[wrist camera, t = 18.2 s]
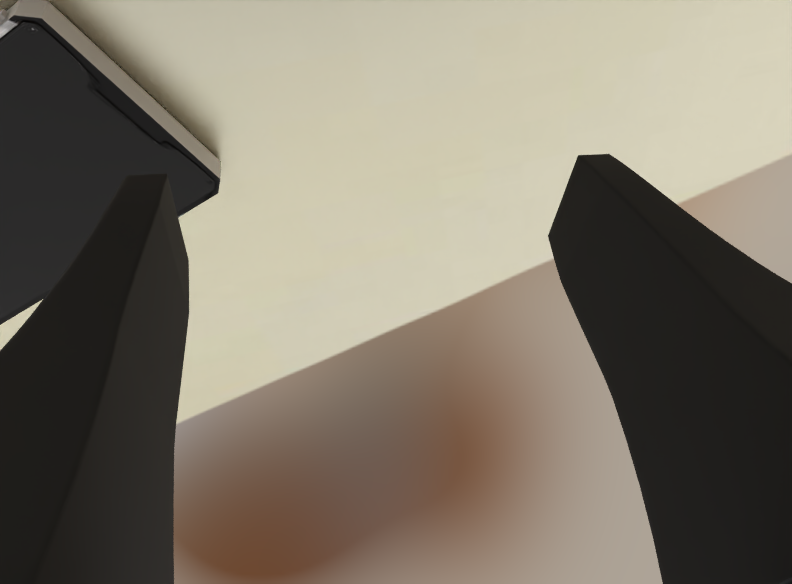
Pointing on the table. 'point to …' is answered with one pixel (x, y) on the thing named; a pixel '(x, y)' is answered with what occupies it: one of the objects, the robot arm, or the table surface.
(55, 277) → the smartphone
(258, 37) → the table surface
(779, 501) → the robot arm
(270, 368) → the table surface
